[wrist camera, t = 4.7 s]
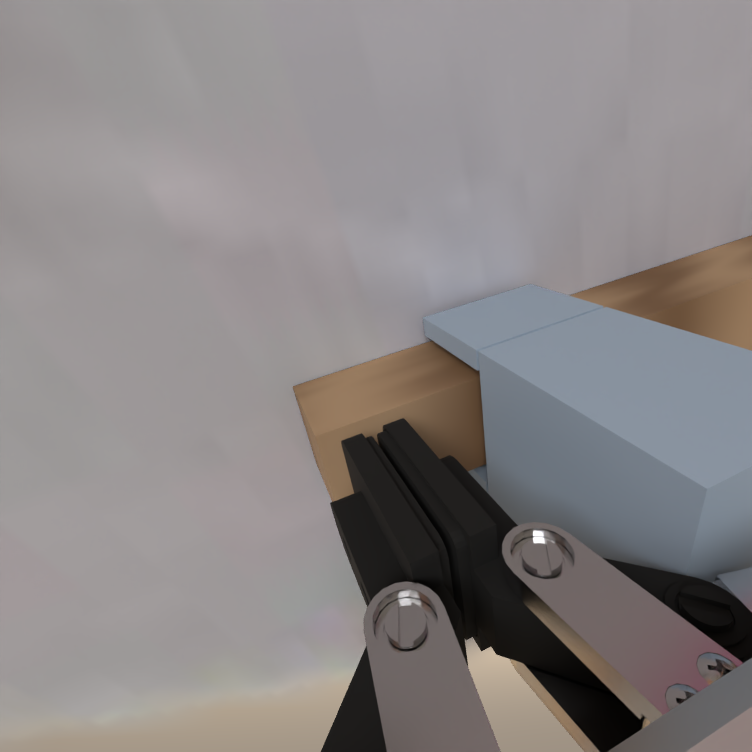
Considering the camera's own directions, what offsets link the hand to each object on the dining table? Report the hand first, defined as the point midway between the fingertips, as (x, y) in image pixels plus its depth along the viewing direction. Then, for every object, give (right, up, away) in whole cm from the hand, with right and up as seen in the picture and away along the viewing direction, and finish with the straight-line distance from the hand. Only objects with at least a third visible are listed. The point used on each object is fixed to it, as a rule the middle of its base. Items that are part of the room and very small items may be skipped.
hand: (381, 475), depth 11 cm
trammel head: (+4, 0, +5) cm, 7 cm away
